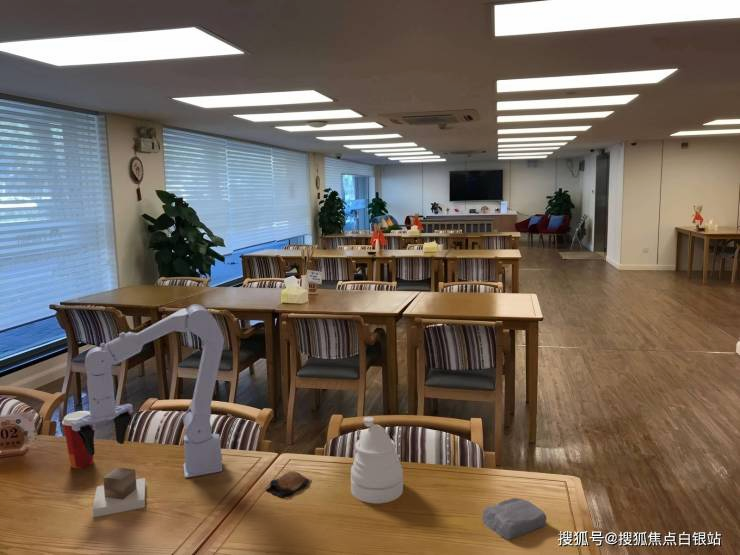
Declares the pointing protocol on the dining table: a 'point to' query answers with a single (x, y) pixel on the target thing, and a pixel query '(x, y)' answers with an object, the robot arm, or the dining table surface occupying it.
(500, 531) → the stone block
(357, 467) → the honey pot
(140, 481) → the stoneware tile
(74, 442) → the paper cup
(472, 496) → the dining table surface
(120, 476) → the walnut block
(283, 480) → the brown rounded lump
